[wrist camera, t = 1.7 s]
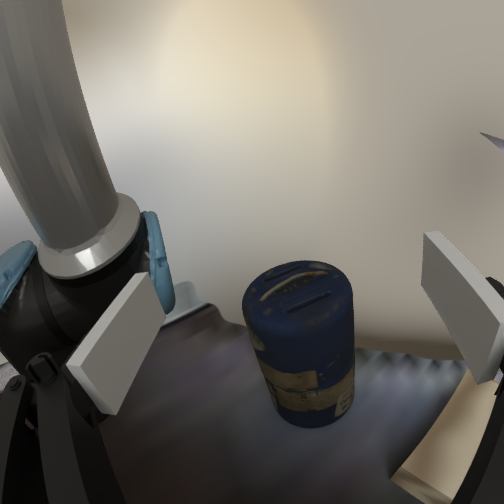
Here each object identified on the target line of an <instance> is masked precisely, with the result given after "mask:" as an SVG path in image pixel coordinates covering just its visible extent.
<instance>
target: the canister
mask: <svg viewBox="0 0 504 504" xmlns="http://www.w3.org/2000/svg"><path fill="white" fill-rule="evenodd" d="M242 310H243V315H244V319H245V322H246V326H247V329H248V332H249V335H250V338H251V341H252V344H253V347H254V350H255V353H256V356H257V359H258V362H259V365H260V368H261V371H262V373H263V374H264V377H265V380H266V383H267V386H268V389H269V392H270V394H271V397H272V400H273V403H274V406H275V408H276V410H277V412H278V413H279V414H280V415H281V417H282V418H284V419H285V420H286V421H288V422H289V423H291V424H293V425H296V426H299V427H304V428H316V427H322V426H326V425H328V424H331V423H333V422H335V421H336V420H338V419H339V418H341V417H342V416H343V415H344V414H345V413H346V411H347V410H348V409H349V407H350V405H351V403H352V401H353V397H354V373H355V371H354V370H355V345H354V343H355V342H354V310H353V292H352V287H351V284H350V282H349V280H348V278H347V277H346V276H345V275H344V273H343V272H341V271H340V270H339V269H338V268H336V267H334V266H332V265H330V264H327V263H323V262H319V261H305V260H304V261H295V262H289V263H286V264H282V265H279V266H276V267H274V268H272V269H270V270H268V271H266V272H264V273H262V274H261V275H260V276H259V277H257V278H256V279H255V280H254V281H253V282H252V283H251V284H250V285H249V287H248V288H247V290H246V292H245V294H244V297H243V300H242Z"/></svg>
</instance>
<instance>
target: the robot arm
mask: <svg viewBox="0 0 504 504" xmlns="http://www.w3.org/2000/svg"><path fill="white" fill-rule="evenodd" d="M0 167H1V169H2V171H3V173H4V175H5V177H6V179H7V181H8V183H9V184H10V186H11V188H12V190H13V192H14V194H15V196H16V198H17V199H18V201H19V203H20V205H21V207H22V208H23V210H24V212H25V213H26V215H27V217H28V219H29V220H30V222H31V224H32V225H33V227H34V229H35V230H36V232H37V234H38V235H39V237H40V238H41V240H40V244H39V248H38V251H37V247H36V246H35V245H34V244H33V243H32V242H31V241H29V240H27V241H22V242H20V243H18V244H16V245H15V246H13V247H11V248H10V249H9V250H7V251H6V252H5V253H3V254H2V255H1V256H0V352H1V353H2V354H3V355H4V356H5V358H6V359H7V360H8V361H9V362H10V364H11V365H12V366H13V367H14V368H15V369H16V370H17V372H18V373H19V374H20V375H17V376H14V377H12V378H11V379H10V380H9V382H8V383H7V384H6V386H5V389H4V392H3V395H2V398H1V401H0V504H126V502H125V500H124V497H123V495H122V492H121V490H120V488H119V485H118V483H117V480H116V477H115V475H114V472H113V469H112V467H111V464H110V461H109V458H108V455H107V452H106V449H105V446H104V443H103V440H102V437H101V433H100V430H99V427H98V423H99V422H101V421H102V420H103V419H105V418H106V417H107V416H108V415H109V414H111V415H117V413H118V411H119V409H120V407H121V405H122V403H123V400H124V398H125V396H126V394H127V392H128V390H129V388H130V386H131V384H132V382H133V380H134V378H135V376H136V374H137V372H138V370H139V368H140V366H141V364H142V362H143V360H144V358H145V356H146V354H147V353H148V351H149V349H150V347H151V345H152V343H153V341H154V339H155V337H156V335H157V333H158V331H159V329H160V328H161V326H162V324H163V322H164V320H165V318H166V314H168V313H170V312H171V311H172V310H173V308H174V306H175V293H174V288H173V283H172V279H171V274H170V270H169V265H168V262H167V257H166V252H165V247H164V242H163V238H162V234H161V229H160V225H159V221H158V217H157V215H156V213H155V212H151V211H150V212H146V211H143V212H142V213H140V210H139V208H138V206H137V204H136V202H135V201H134V200H133V199H132V198H131V197H129V196H127V195H125V194H122V193H117V192H116V191H115V189H114V186H113V184H112V181H111V178H110V175H109V173H108V170H107V167H106V164H105V162H104V159H103V156H102V153H101V150H100V147H99V145H98V142H97V139H96V135H95V132H94V129H93V126H92V123H91V120H90V117H89V113H88V110H87V107H86V103H85V101H84V97H83V94H82V89H81V86H80V82H79V79H78V75H77V71H76V67H75V63H74V59H73V55H72V51H71V46H70V42H69V37H68V32H67V28H66V23H65V17H64V12H63V6H62V0H0ZM423 242H424V243H423V264H422V280H421V285H422V287H423V288H424V290H425V291H426V293H427V295H428V296H429V298H430V300H431V301H432V303H433V305H434V306H435V308H436V310H437V311H438V313H439V314H440V316H441V318H442V320H443V321H444V323H445V325H446V326H447V328H448V330H449V332H450V334H451V335H452V337H453V339H454V341H455V343H456V345H457V346H458V348H459V350H460V352H461V354H462V356H463V358H464V360H465V362H466V364H467V365H468V367H469V369H470V371H471V373H472V375H473V378H474V380H475V382H476V384H477V385H480V384H482V383H485V382H488V381H491V380H493V379H494V378H495V376H496V374H497V372H498V369H499V367H500V369H501V371H502V373H503V374H504V286H503V285H502V284H501V283H500V282H498V281H497V280H495V279H493V278H491V277H488V278H484V277H483V276H482V275H481V273H480V272H478V270H477V269H476V268H475V267H474V266H473V265H472V264H471V263H470V262H469V261H468V260H467V259H466V258H465V257H464V256H463V255H462V254H461V253H460V252H459V251H458V250H457V248H456V247H454V246H453V245H452V244H451V243H450V242H449V241H448V240H447V239H446V238H445V237H444V236H443V235H442V234H441V233H440V232H439V231H431V232H424V240H423ZM494 395H497V396H496V399H495V403H494V406H493V409H492V412H491V415H490V418H489V421H488V423H487V426H486V429H485V432H484V434H483V437H482V439H481V442H480V444H479V447H478V449H477V452H476V454H475V456H474V458H473V461H472V463H471V465H470V467H469V469H468V471H467V474H466V476H465V478H464V480H463V482H462V484H461V486H460V487H459V489H458V491H457V493H456V495H455V497H454V499H453V500H452V502H451V504H504V375H503V377H502V379H501V382H500V384H499V386H498V388H497V390H496V392H495V394H494ZM25 418H27V420H28V421H29V422H30V423H31V424H32V426H31V429H30V428H29V427H28V426H27V425H26V424H25Z"/></svg>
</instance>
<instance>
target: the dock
mask: <svg viewBox="0 0 504 504" xmlns="http://www.w3.org/2000/svg"><path fill="white" fill-rule="evenodd" d="M498 386H499V383H498V382H496V381H494V380H491V381H488V382H485V383H482V384H480V385H477V384H476V382H475V380H474V378H473V375H472V373H471V371H470V369H469V368H468V370H467V372H466V373H465V375H464V377H463V379H462V380H461V382H460V384H459V386H458V387H457V389H456V391H455V392H454V394H453V395H452V397H451V399H450V400H449V402H448V403H447V405H446V406H445V408H444V410H443V411H442V413H441V414H440V416H439V417H438V418H437V420H436V421H435V423H434V424H433V426H432V427H431V428H430V430H429V431H428V433H427V434H426V435H425V437H424V438H423V439H422V441H421V442H420V443H419V445H418V446H417V447H416V448H415V450H414V451H413V452H412V453H411V455H410V456H409V457H408V458H407V460H406V461H405V462H404V463H403V464H402V466H401V467H400V468H399V469H398V470H397V471H396V473H395V474H394V475H393V476H392V477H391V478H390V479H389V480H390V481H392V482H393V483H395V484H396V485H398V486H399V487H401V488H402V489H404V490H405V491H407V492H408V493H410V494H411V495H413V496H414V497H416V498H417V499H419V500H420V501H422V502H424V503H425V504H451V502H452V500H453V499H454V497H455V495H456V493H457V491H458V489H459V487H460V486H461V484H462V482H463V480H464V478H465V476H466V474H467V471H468V469H469V467H470V465H471V463H472V461H473V458H474V456H475V454H476V452H477V449H478V447H479V444H480V442H481V439H482V437H483V434H484V432H485V429H486V426H487V423H488V421H489V418H490V415H491V412H492V409H493V406H494V403H495V399H496V396H497V395H494V394H495V392H496V390H497V388H498Z"/></svg>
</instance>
